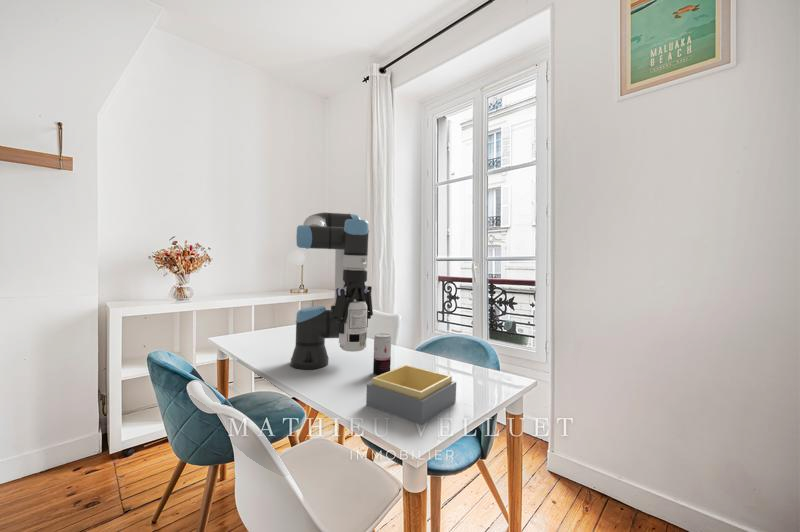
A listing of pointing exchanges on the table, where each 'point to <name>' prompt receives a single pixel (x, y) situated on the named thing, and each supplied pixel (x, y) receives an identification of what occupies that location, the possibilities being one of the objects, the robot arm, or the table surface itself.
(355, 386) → the table surface
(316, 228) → the robot arm
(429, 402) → the outer crate
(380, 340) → the beverage can
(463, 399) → the table surface
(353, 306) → the supplement can
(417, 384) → the inner crate
